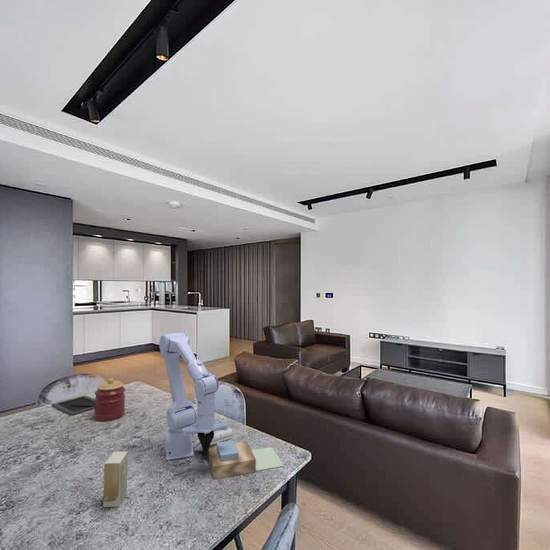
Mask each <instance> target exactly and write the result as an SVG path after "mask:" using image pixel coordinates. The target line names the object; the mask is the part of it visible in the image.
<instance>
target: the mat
mask: <svg viewBox="0 0 550 550" xmlns="http://www.w3.org/2000/svg"><path fill="white" fill-rule="evenodd" d="M251 451H252V453H253V455H254V457H255V459H256V472H260V471H267V470H273V469H278V468H284V467H285V466H284V464H283V462H282V460H281V459H280V457H279V456H278V454H277V452H276V451H275V450H274V447H272V446H271V447H265V448H258V449H253V450H252V449H251Z"/></svg>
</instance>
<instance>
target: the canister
mask: <svg viewBox="0 0 550 550" xmlns="http://www.w3.org/2000/svg"><path fill="white" fill-rule="evenodd" d="M96 388H97V389H96V390H95V391H94V395H95V398H94V399H95V400H94V401H95V409H93V410H94V412H93V417H94V420H95V421H98V422H109V421H115V420H117V419H121V418H122V417H124V415H125V412H126V411H125V410H126V405H125V403H126V394H125V391H126V387H125V383H123V382H122V381H120V380H115V378H113V377H110V378H108V379H107V381H104V382H101V383H100V384H98V385H97V386H96Z"/></svg>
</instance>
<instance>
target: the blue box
mask: <svg viewBox="0 0 550 550" xmlns="http://www.w3.org/2000/svg"><path fill="white" fill-rule="evenodd" d="M235 443H236V442H235V441H234V440H232V439H230V440H229V441H225V442H218V443H217V452H218V455H219V458H220V462H222V461H228V460H235V459H238V456H239V453H238V450H237V448H236V445H235Z"/></svg>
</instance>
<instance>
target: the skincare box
mask: <svg viewBox="0 0 550 550" xmlns="http://www.w3.org/2000/svg"><path fill="white" fill-rule="evenodd" d="M128 458H129V451H113V452H112V453H111V454H110V456H109V457H107V459H106V461H105V462H104V467H103V468H104V469H103V473H104V474H103V501H102V502H103V503H102V505H103V506H102V507H103V508H119V507H120V505H121V503H122V502H123V500H124V498H125V497H126V496H127V495H126V494H127V493H128V467H129V465H128V464H129V462H128V461H129V459H128Z"/></svg>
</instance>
